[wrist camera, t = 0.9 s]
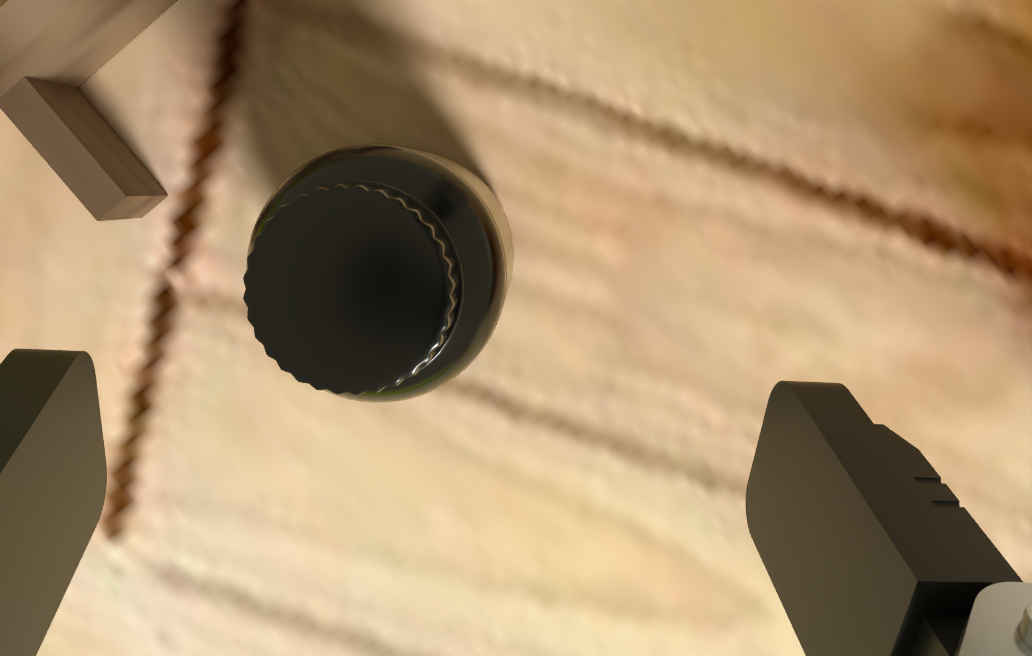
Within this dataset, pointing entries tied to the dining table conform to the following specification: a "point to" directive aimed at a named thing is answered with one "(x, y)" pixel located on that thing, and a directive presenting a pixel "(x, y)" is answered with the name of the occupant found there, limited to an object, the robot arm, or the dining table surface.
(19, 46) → the block
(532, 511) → the dining table surface
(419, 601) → the dining table surface
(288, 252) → the supplement bottle
